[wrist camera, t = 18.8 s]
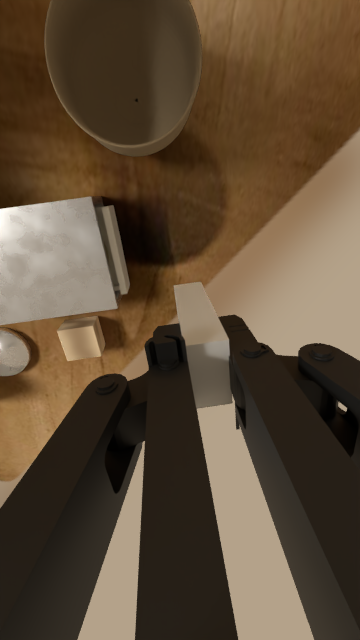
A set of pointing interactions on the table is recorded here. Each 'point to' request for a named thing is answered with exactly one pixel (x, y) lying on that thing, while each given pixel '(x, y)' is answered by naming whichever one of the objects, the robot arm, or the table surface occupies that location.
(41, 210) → the housing
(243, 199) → the table surface
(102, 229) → the tray
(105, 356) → the table surface
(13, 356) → the silver disc
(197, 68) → the bowl
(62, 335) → the oak block
